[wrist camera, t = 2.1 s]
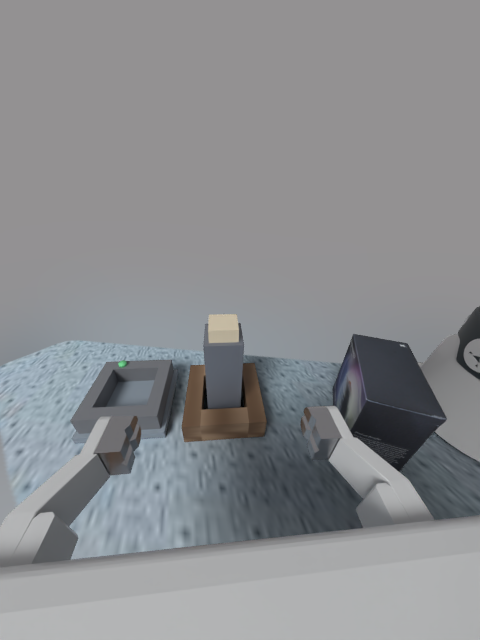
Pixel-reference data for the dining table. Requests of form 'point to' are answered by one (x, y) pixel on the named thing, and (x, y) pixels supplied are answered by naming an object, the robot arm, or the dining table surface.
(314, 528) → the dining table surface
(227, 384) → the plug
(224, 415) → the frame
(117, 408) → the dock
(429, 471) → the dining table surface
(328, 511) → the dining table surface
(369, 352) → the small box
